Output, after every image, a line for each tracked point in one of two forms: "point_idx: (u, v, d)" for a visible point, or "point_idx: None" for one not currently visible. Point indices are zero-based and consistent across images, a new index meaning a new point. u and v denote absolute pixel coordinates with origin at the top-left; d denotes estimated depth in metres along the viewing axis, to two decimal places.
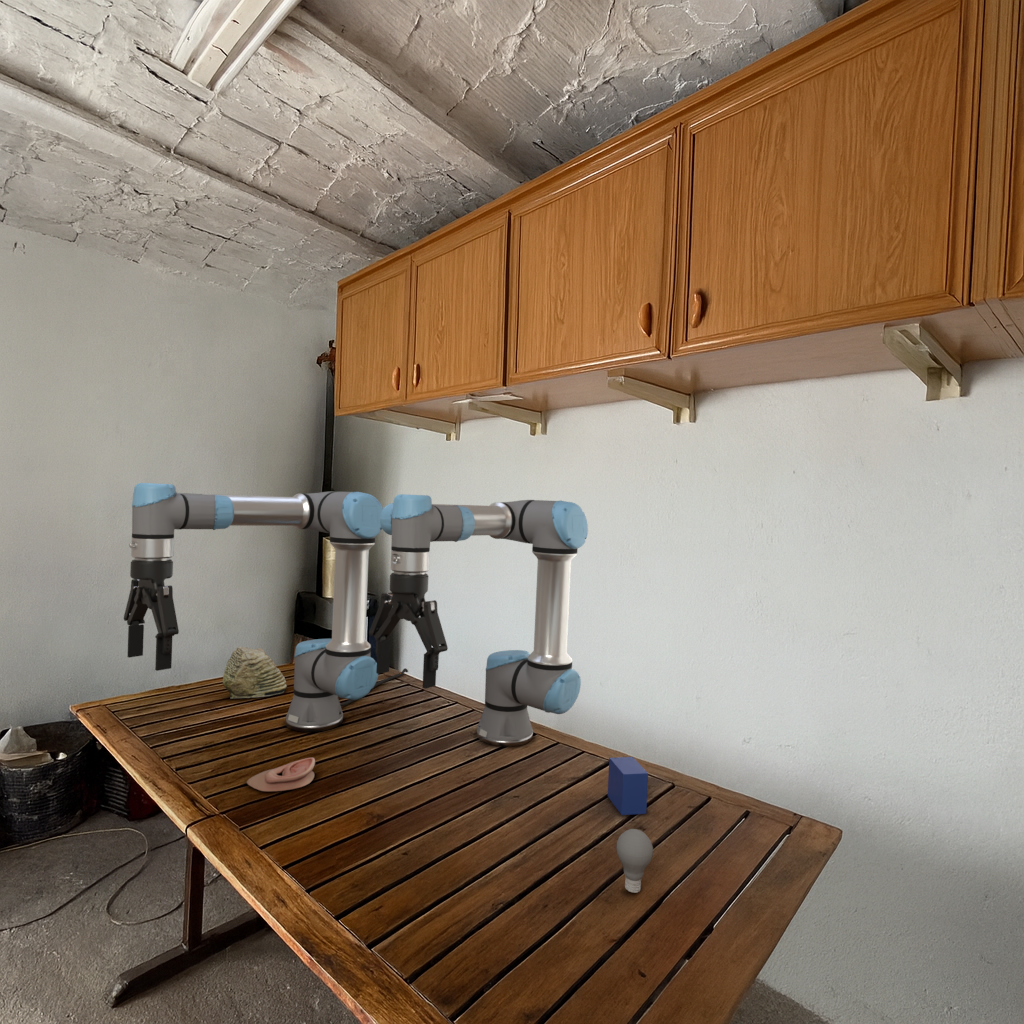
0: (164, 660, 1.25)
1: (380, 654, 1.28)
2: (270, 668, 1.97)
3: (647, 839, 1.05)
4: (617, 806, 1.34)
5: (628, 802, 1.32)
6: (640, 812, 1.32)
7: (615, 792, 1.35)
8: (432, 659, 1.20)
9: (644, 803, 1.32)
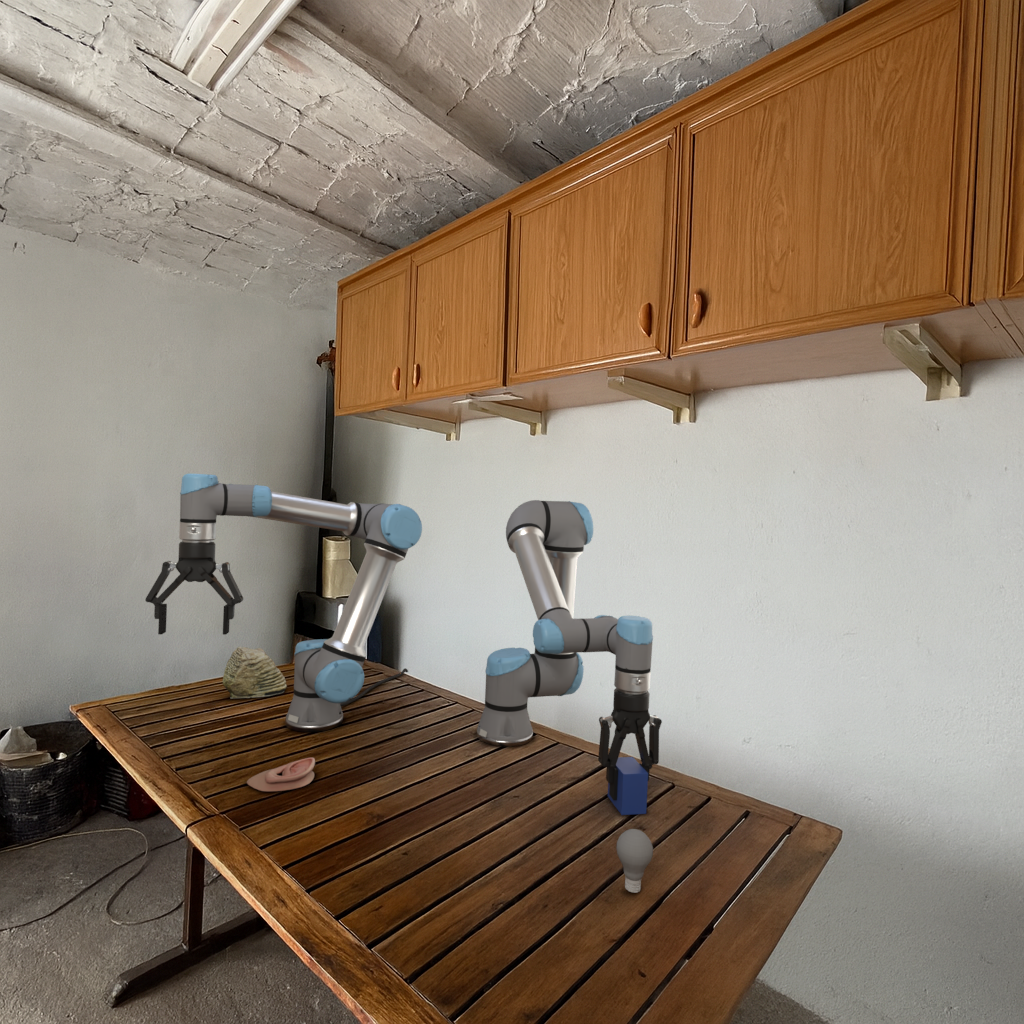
0: (227, 625, 1.47)
1: None
2: (270, 668, 1.97)
3: (647, 839, 1.05)
4: (617, 806, 1.34)
5: (628, 802, 1.32)
6: (640, 812, 1.32)
7: None
8: (648, 771, 1.36)
9: (644, 803, 1.32)
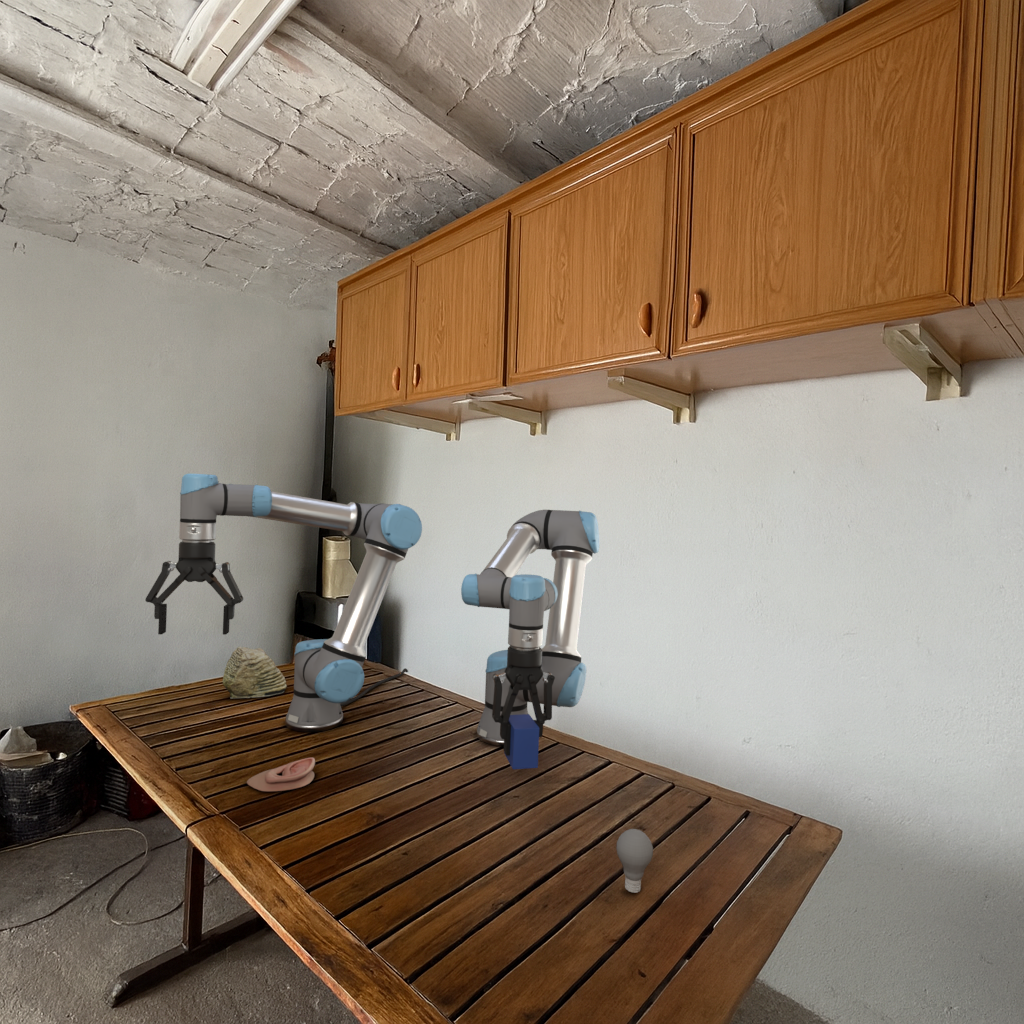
0: (227, 625, 1.47)
1: None
2: (270, 668, 1.97)
3: (647, 839, 1.05)
4: (510, 761, 1.35)
5: (519, 756, 1.34)
6: (532, 766, 1.34)
7: None
8: (541, 726, 1.38)
9: (535, 757, 1.34)
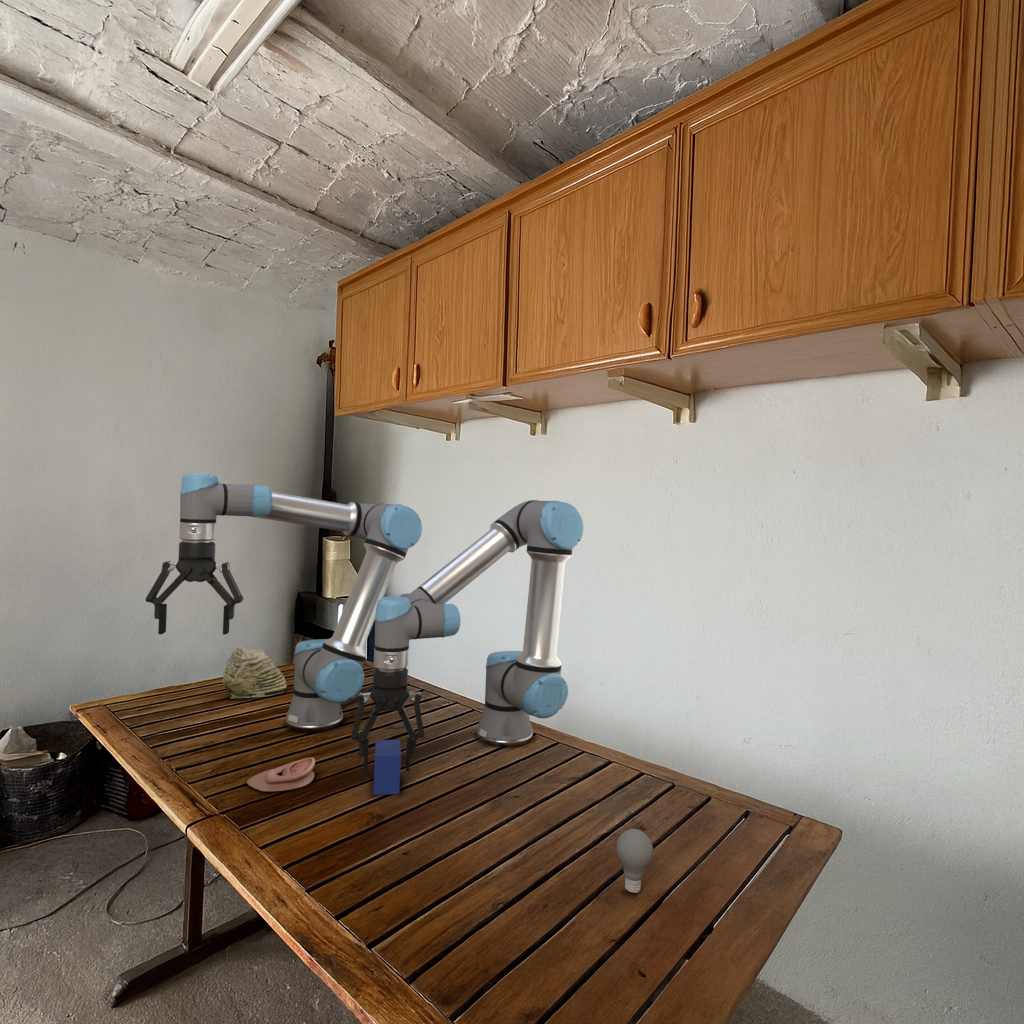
0: (227, 625, 1.47)
1: (367, 754, 1.38)
2: (270, 668, 1.97)
3: (647, 839, 1.05)
4: None
5: (380, 782, 1.36)
6: (393, 792, 1.36)
7: None
8: (414, 744, 1.41)
9: (397, 783, 1.36)
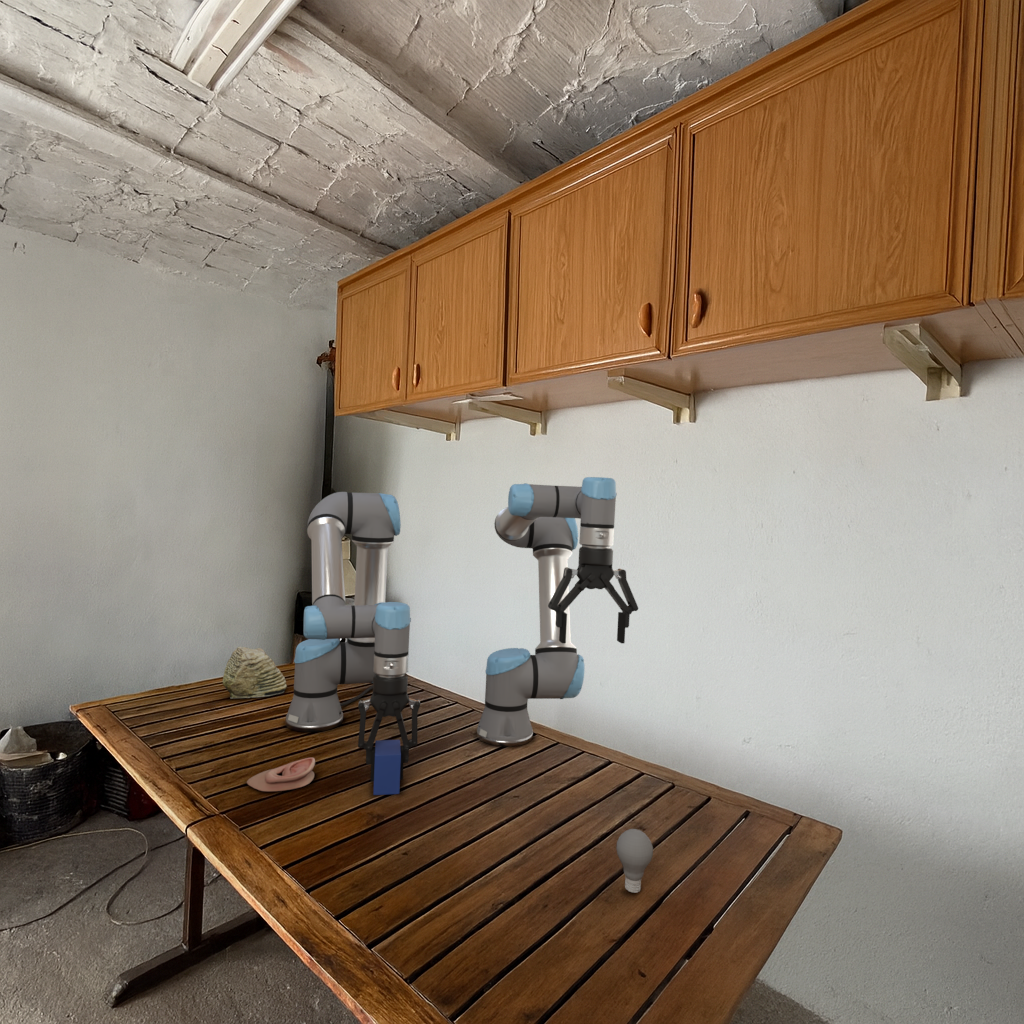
0: None
1: None
2: (270, 668, 1.97)
3: (647, 839, 1.05)
4: None
5: (380, 782, 1.36)
6: (393, 792, 1.36)
7: None
8: (628, 617, 1.42)
9: (397, 783, 1.36)
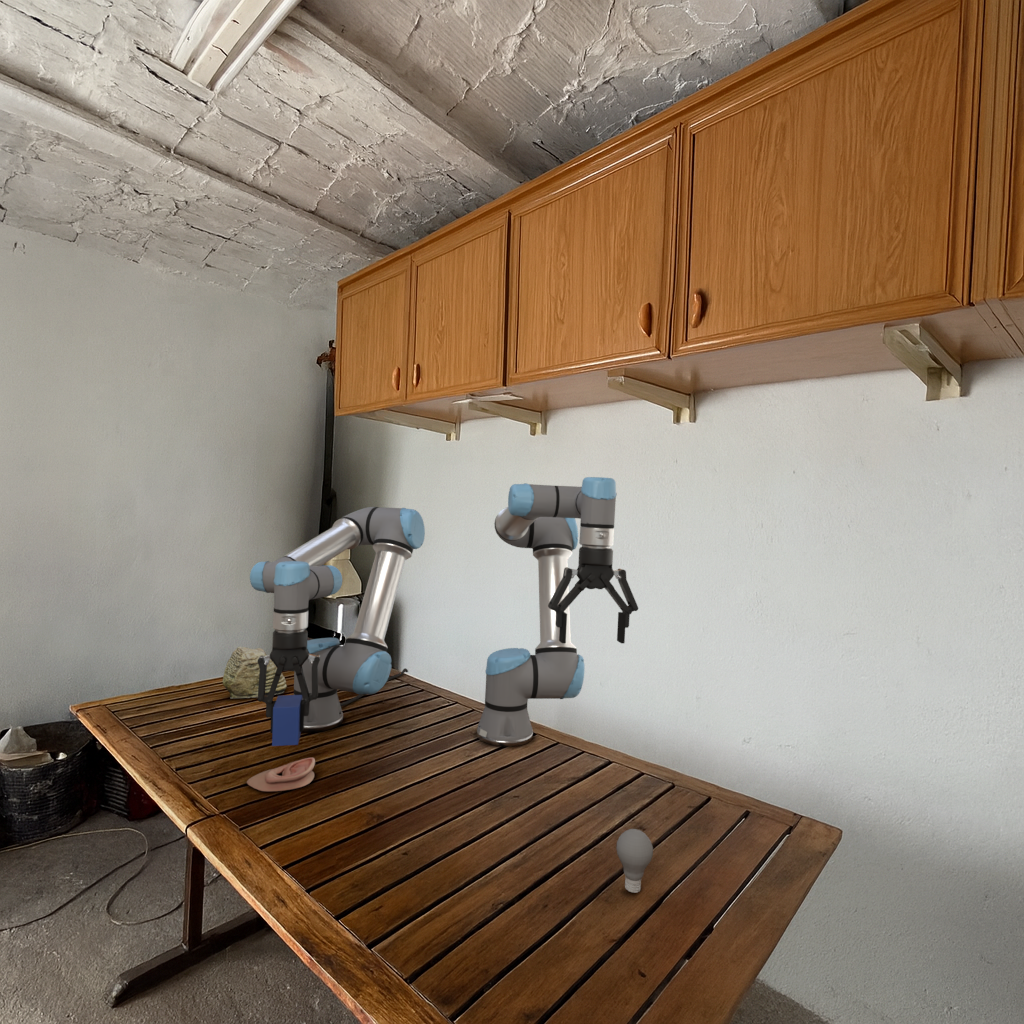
0: (303, 721, 1.46)
1: None
2: (270, 668, 1.97)
3: (647, 839, 1.05)
4: None
5: (278, 734, 1.40)
6: (292, 743, 1.41)
7: None
8: (628, 617, 1.42)
9: (295, 735, 1.41)
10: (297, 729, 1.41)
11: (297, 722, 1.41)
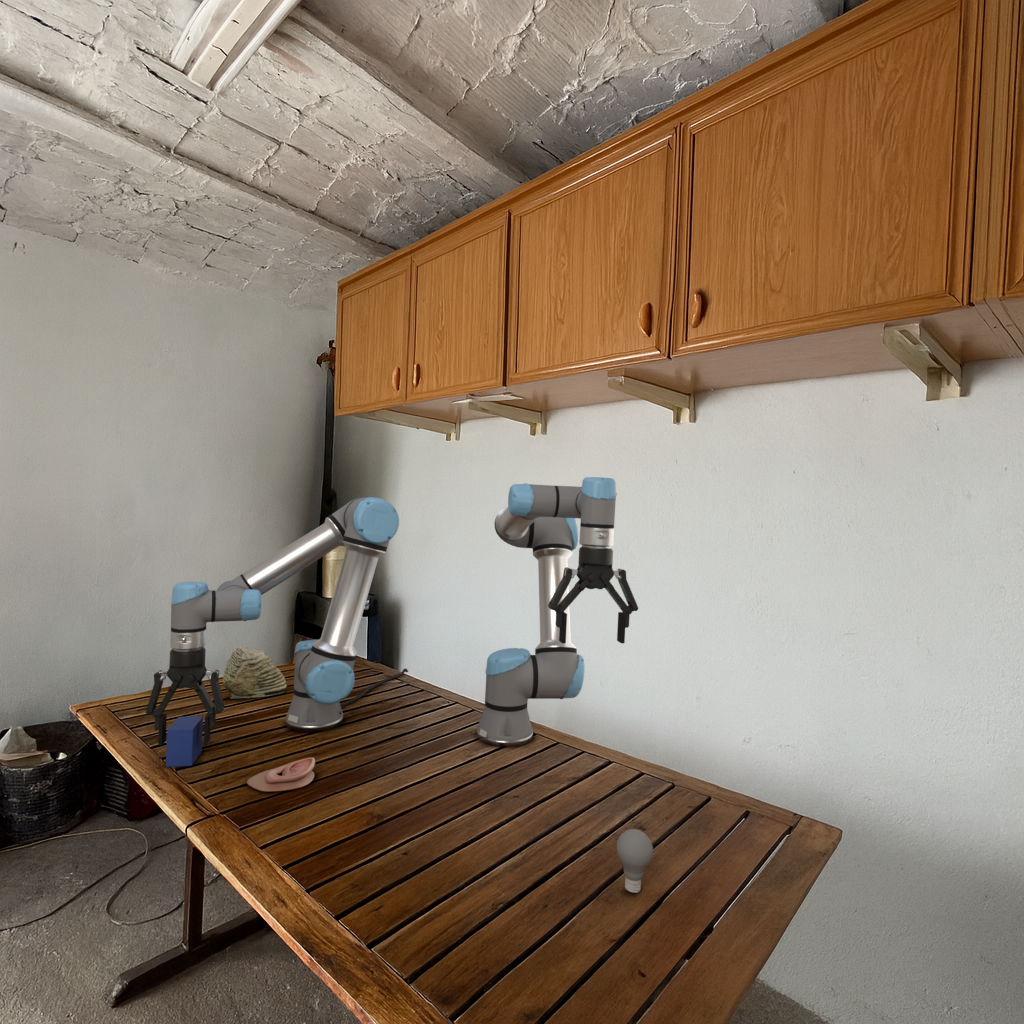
0: (209, 734, 1.51)
1: None
2: (270, 668, 1.97)
3: (647, 839, 1.05)
4: None
5: (172, 755, 1.45)
6: (185, 764, 1.46)
7: None
8: (628, 617, 1.42)
9: (189, 756, 1.46)
10: (191, 750, 1.46)
11: (191, 744, 1.46)
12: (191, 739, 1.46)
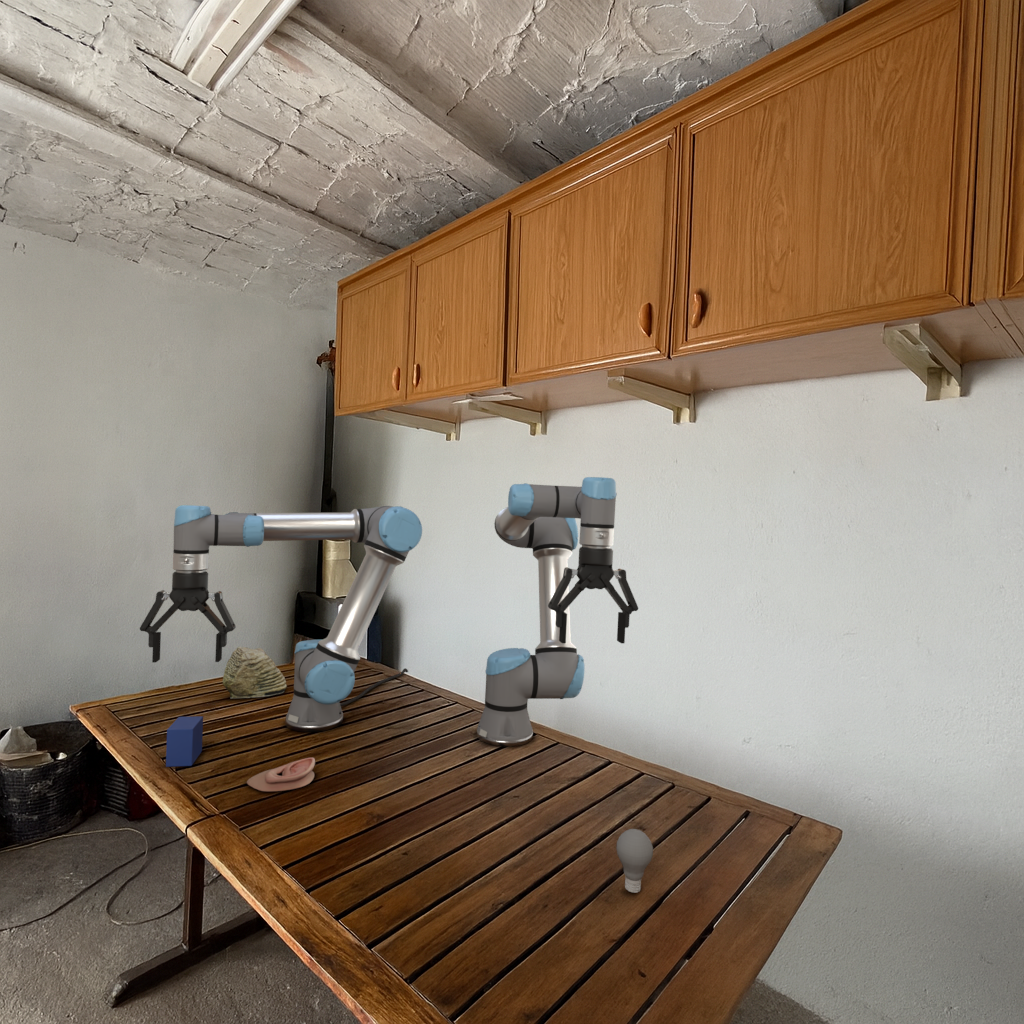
0: (220, 653, 1.51)
1: None
2: (270, 668, 1.97)
3: (647, 839, 1.05)
4: None
5: (172, 755, 1.45)
6: (185, 764, 1.46)
7: None
8: (628, 617, 1.42)
9: (189, 756, 1.46)
10: (191, 750, 1.46)
11: (191, 744, 1.46)
12: (191, 739, 1.46)
